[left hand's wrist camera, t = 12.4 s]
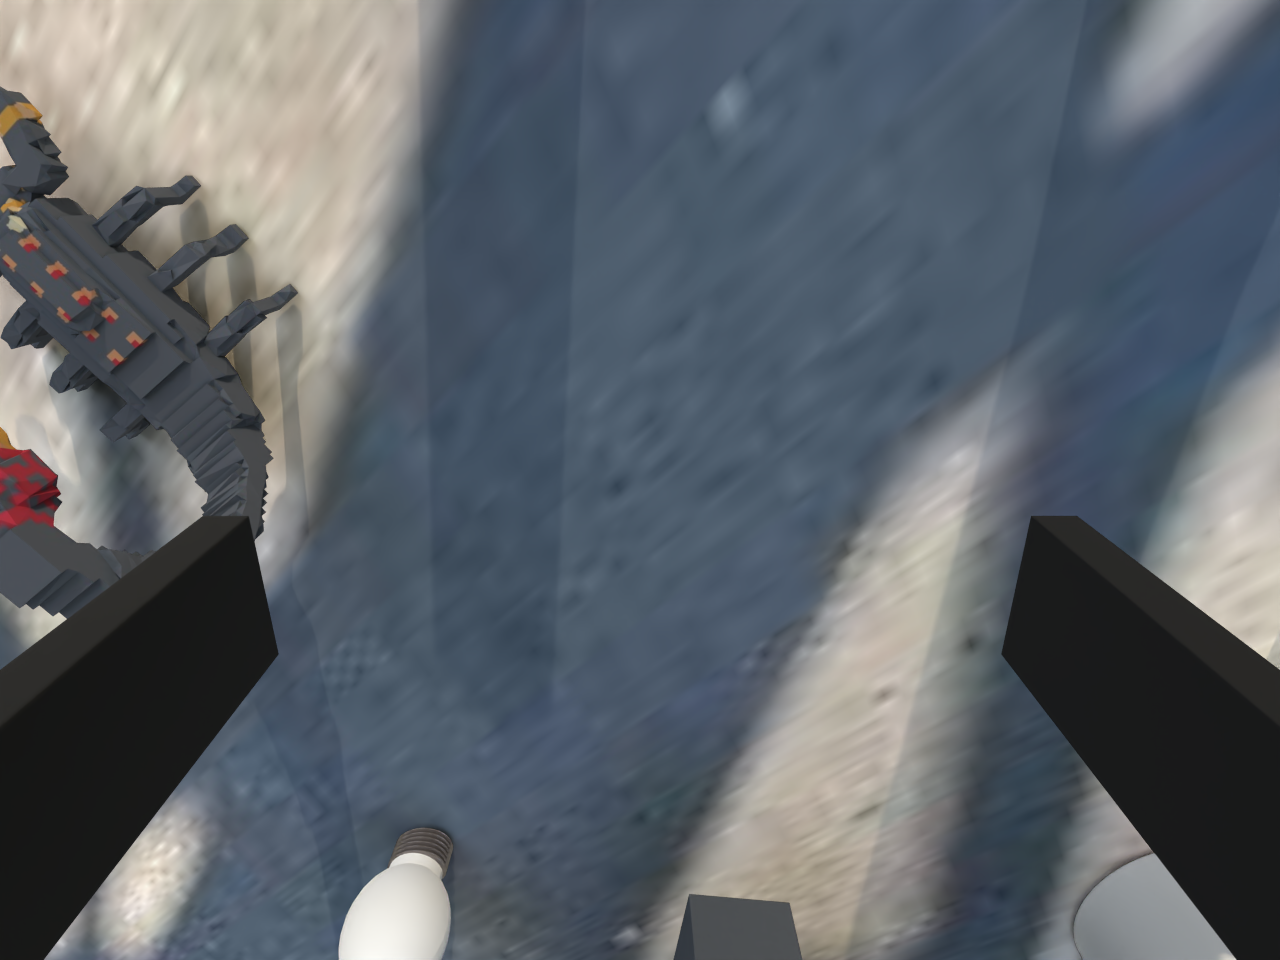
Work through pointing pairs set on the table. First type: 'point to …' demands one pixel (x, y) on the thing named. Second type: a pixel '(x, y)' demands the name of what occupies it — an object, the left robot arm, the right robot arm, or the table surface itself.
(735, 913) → the box
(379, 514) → the table surface
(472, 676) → the table surface
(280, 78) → the table surface
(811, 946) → the table surface
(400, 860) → the light bulb
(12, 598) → the toy
